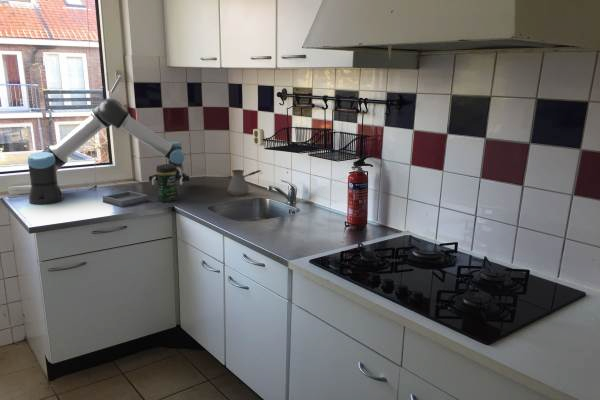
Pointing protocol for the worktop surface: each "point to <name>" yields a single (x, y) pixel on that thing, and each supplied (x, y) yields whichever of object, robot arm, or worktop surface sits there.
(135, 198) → the grey shallow rectangular tray
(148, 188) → the worktop surface
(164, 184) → the coffee jar
